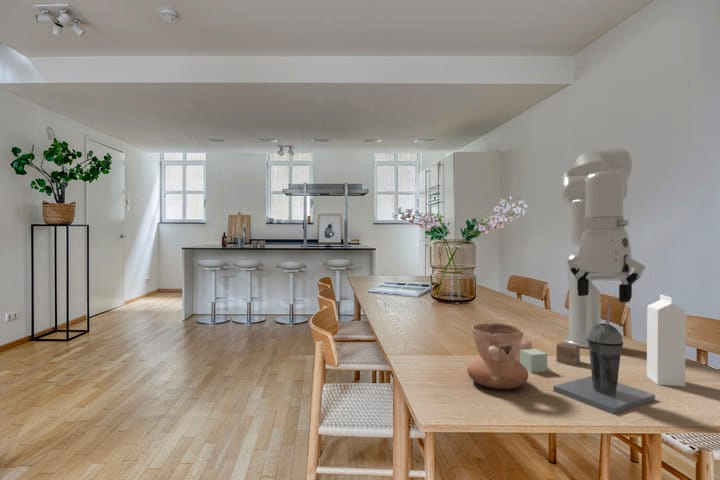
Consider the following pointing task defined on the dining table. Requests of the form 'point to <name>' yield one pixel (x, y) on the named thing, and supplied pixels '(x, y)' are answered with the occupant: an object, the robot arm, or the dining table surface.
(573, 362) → the walnut block
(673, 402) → the dining table surface
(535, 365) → the sage block
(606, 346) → the beverage cup
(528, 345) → the peach rounded capsule
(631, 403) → the slate board
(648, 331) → the milk
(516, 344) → the ceramic jug
